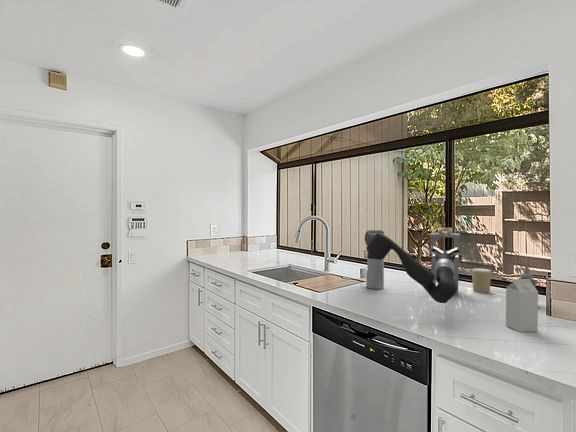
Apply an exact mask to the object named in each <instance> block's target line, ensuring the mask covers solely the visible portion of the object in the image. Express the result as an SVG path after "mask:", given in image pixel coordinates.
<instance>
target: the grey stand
mask: <svg viewBox="0 0 576 432" xmlns="http://www.w3.org/2000/svg"><path fill="white" fill-rule="evenodd" d="M429 237H431V242H430V243H431V246H430V247H431V248H433V244H434V243H435V242H436V243H437V238H452V239H454V241H453V244H454V243H456V244H457V245H458V249H460V247H459V246H460V245H459V244H460V243H459V241H460V239H461V235H460V233H458V232H457V233H456V232H455V233H454V232H452V234H447V236H442V234H438V232H431V233H430V236H429ZM432 252H433V251H432ZM433 254H434V255H435V254H436V253H435V252H433ZM458 254H459V253H457V254H455V256H457V255H458ZM430 261H431V263H430V264H431V265H430V266H431V267H430V268H431V269H430V271H431V272H432V273H433V274H434V275H435V277H434V279H433V283H434V284H435V285H436V286H437V281H436V258H435V257H432V259H430ZM459 261H460V260H459V259H454V280H455V283H456V285H457V292H456V293H455V295H454V296H453V297H459V273H460V272H459V270H460V269H459V267H460V266H459V265H460V263H459Z"/></svg>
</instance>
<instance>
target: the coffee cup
mask: <svg viewBox="0 0 576 432" xmlns="http://www.w3.org/2000/svg"><path fill="white" fill-rule="evenodd" d="M492 273H493V272H492V270H491V269H487V268H481V267H480V268H478V267H477V268H475V267H474V268H472V269H471V275H472V277H471V278H472V279H471V280H472V290H473V292H474V293H478V294H489V293H490V292H491V291H490V290H491V279H492Z"/></svg>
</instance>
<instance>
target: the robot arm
mask: <svg viewBox="0 0 576 432" xmlns="http://www.w3.org/2000/svg"><path fill="white" fill-rule="evenodd" d="M364 234H365V235H364V242H365V245H366V251H367V261H366V263H367V267H366V268H367V270H366V273H365V274H366V280H365V281H366V282H365V283H366V285H365V286H366V287H365V288H367V289H371V290H383V289H385V270H384V269H385V265H384V264H385V258H386V257H387V256H388V254H389V253H390V251H391V250H393V251H394V252H395V253H396V255H397V256H398V258H399V260H400V262H401V264H402V266H403V268H404V271H405V273H406V274H407V275H408V276H409V277H410V278H411V279H412V280H414V281H415V282H417V283H418V284H419V285H420V286H421V287H422V288H423V289H424V290H425V291H426V292H427V294H428V295H429V296H430V298H432V299H433V300H434V301H435V302H437V303H440V304H447V303H448V302H449V300H451V299H452V298H453V297H455V296H454V295H455V293H456V292H457V285H456V283H455V280H454V259H459V261H462V259H463V248H460V247H459V249H458V245H457V244H456V243H454V242H453V246H454V248H452V249H450V250H449V249H447V250H445V249H442V250H441V249H440V248H439V247H437V241H436V242H435V243H434V244H433V248H431V246H430V247H428V257H429V260H431V259H432V257H435V258H436V285H435V284H434V283H433V279H434V277H435V275H434V274H433V273H432V272H431V270H429V268H426V267H425V266H424V265H423V264H421V263H419V262H418V261H417V260H416V259H414V258H413V257H412V256H411V255H410V254H409V253H408V252H407V251H406V250H405V249H404V248H403V247H401V246H400V245H398V244H397V243H396V242H395V241H394V240H393V239H391V238H390V237H388V236H387V235H386V234H385V232H384V230H381V229H380V230H379V229H377V230H373V229H371V230H367V231H366V232H365V233H364ZM432 251H433V252H435V253H436V254H435V255H434V254H433V252H432ZM457 253H459V254H458V255H457V256H455V254H457Z"/></svg>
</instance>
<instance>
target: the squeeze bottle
mask: <svg viewBox="0 0 576 432" xmlns="http://www.w3.org/2000/svg"><path fill="white" fill-rule="evenodd" d="M519 275H520V277H518V279H531V283H532V284H533V285H534V287H535V288H536V289H537V287H536V282H535V279H534V278H533V274H531V273H530V269H529V267H528V266H524V268H523V272H522V273H520V274H519Z"/></svg>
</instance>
